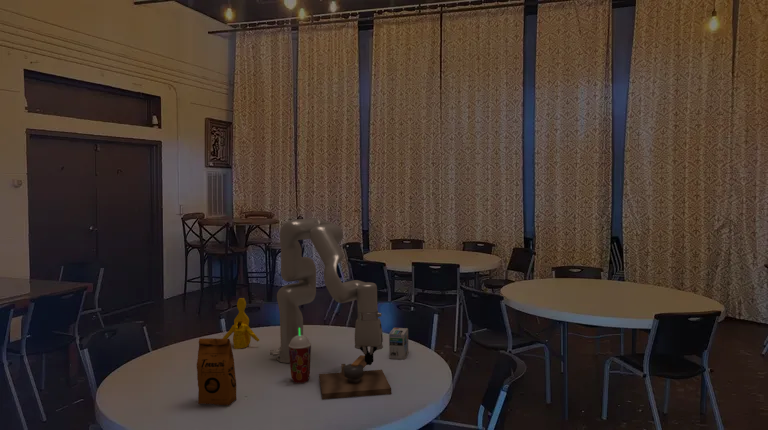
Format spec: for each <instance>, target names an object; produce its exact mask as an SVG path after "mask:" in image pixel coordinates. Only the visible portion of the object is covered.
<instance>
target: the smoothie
mask: <svg viewBox="0 0 768 430" xmlns="http://www.w3.org/2000/svg"><path fill="white" fill-rule="evenodd" d="M288 346H289V356H290V363H289V366H290V367H289V368H290V378H291V379H292V382H294V383H295V384H303V383H306V382H308V381H309V378H310V377H311V374H310V373H311V355H312V354H311V351H312V343H311V342H310V339H309V338H308V337H307V336H306V335H305V334H303V335H300V328H299V335H297V336H295V337H293V338H292V340H291V341H290V344H289V345H288Z"/></svg>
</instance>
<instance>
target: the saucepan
mask: <svg viewBox="0 0 768 430" xmlns="http://www.w3.org/2000/svg"><path fill="white" fill-rule="evenodd" d="M366 366H367V365H366V362H365V354H363V355H359V356H358V357H357V358H356V359H355V360H354V361H353V362H352V363H350V364H346V366H344V377H346V378H350V379H355V378H360V377H362V376H363V371H364V368H365V367H366Z"/></svg>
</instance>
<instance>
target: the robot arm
mask: <svg viewBox="0 0 768 430" xmlns="http://www.w3.org/2000/svg"><path fill="white" fill-rule="evenodd" d="M343 237H344V234H343V230H342V228H341V227H340V226H339V225H338V224H336V223H335V222H330V221H326V220H323V219H320V218H314V217H313V218H299V219H291V220H287V221H286V222H284V223H283V224H282V226H281V227H280V230H279V241H280V242H279V243H280V274H281V275H280V277H281V278H282V280H283V281H285V282H288V283H289V282H296V281H297V282H296V283H290V284H286V285H283V286H282V287H280V288H279V289H278V291H277V293H276V301H277V304H278V311H279V324H280V325H279V327H280V347H279V348H278V349H271V350H270V351H269V355H270V356H272V357H274V356H275V357H276V356H277V357H276V359H277V361H278V362H279V363H283V364H290V356H289V346H288V345H289V344H290V341H291V340H292V338H293V337H295V336H297V335H299V328H300V335H304V318H303V313H302V311H301V309H300V308H299V306H302V305H303V306H304V305H306V304H307V305H308V304H310V303H312V302H313V301H314V300H315V298H316V293H317V267H316V263H315V261H314V260H313V259H312V258H311V257H308V256H302V252H303V250H302V246H301V244H300V242H299V241H302V240H310V241H311V243H312V244H313V247H314V248H315V250H316V252H317V254H318V255H319V258H320V259H321V260H322V263H323V265H324V267H323V268H324V270H323V280H324V285H325V288H326V289H327V291H328V293H329V295H330V296H331V298H332V299H333V300H334V301H335V302H336V303H338V304H345V303H350V302H352V301H353V302H354V301H357V302H356V303H357V304H356V305H357V318H356V320H355V324H354V325H355V327H354V348H355V349H357V350H360V351H361V352H362V353H363V355H364V356H365V362H366V366H371V365H372V364H373V363H374V353H375V352H376V351H379V350H382V349H383V348H384V345H383V342H384V337H383V327H382V321H381V317H382V314H383V313H382V312H379V309H378V286H377V283H374V282H369V281H367V282H365V281H363V280H360V279H359V280H358V279H354V280H349V281H344V282H342V280H341V278H340V277H339V274H338V271H337V267H338V265H339V264H340V263H341V262H342V261H343V260H344V257H345V254H344V252H343V250H342V249H341V246H339V243H341V242H342V241H343ZM379 317H380V318H379ZM369 347H370V348H369Z"/></svg>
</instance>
